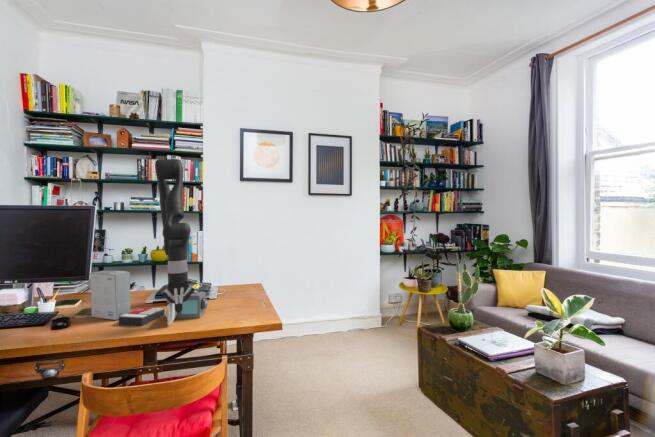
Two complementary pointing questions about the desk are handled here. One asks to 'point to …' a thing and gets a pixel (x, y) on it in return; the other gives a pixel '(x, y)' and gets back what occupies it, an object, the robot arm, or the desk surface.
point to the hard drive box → (110, 294)
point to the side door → (170, 312)
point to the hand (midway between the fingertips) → (178, 312)
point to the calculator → (141, 316)
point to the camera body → (193, 305)
